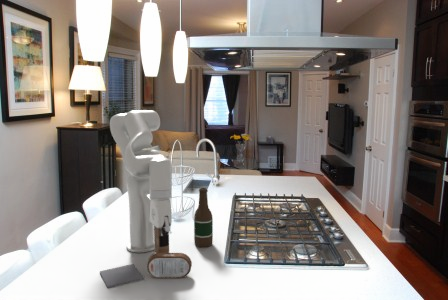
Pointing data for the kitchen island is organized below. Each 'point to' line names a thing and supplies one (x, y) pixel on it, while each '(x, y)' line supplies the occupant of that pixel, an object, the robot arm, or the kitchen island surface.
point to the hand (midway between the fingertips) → (161, 243)
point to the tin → (169, 265)
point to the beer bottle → (203, 222)
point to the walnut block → (156, 242)
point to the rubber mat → (121, 275)
